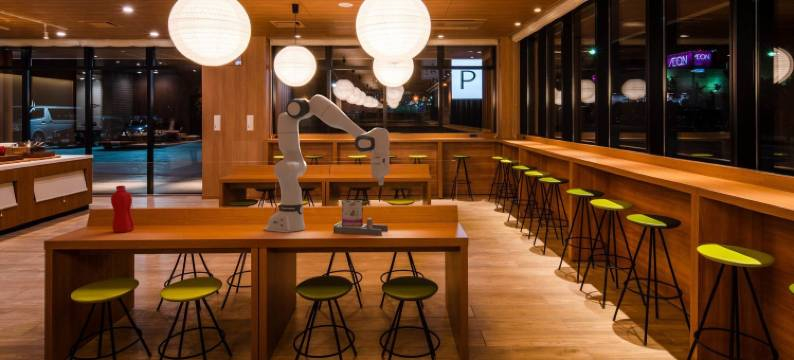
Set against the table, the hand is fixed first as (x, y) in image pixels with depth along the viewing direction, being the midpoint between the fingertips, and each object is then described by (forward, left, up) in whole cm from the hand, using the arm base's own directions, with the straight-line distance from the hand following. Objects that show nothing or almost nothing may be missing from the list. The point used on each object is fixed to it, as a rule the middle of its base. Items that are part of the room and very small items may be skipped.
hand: (381, 185), depth 279 cm
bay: (-11, -1, -26) cm, 28 cm away
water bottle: (-136, -32, -26) cm, 142 cm away
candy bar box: (-16, -1, -26) cm, 30 cm away
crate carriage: (-15, -1, -25) cm, 29 cm away
